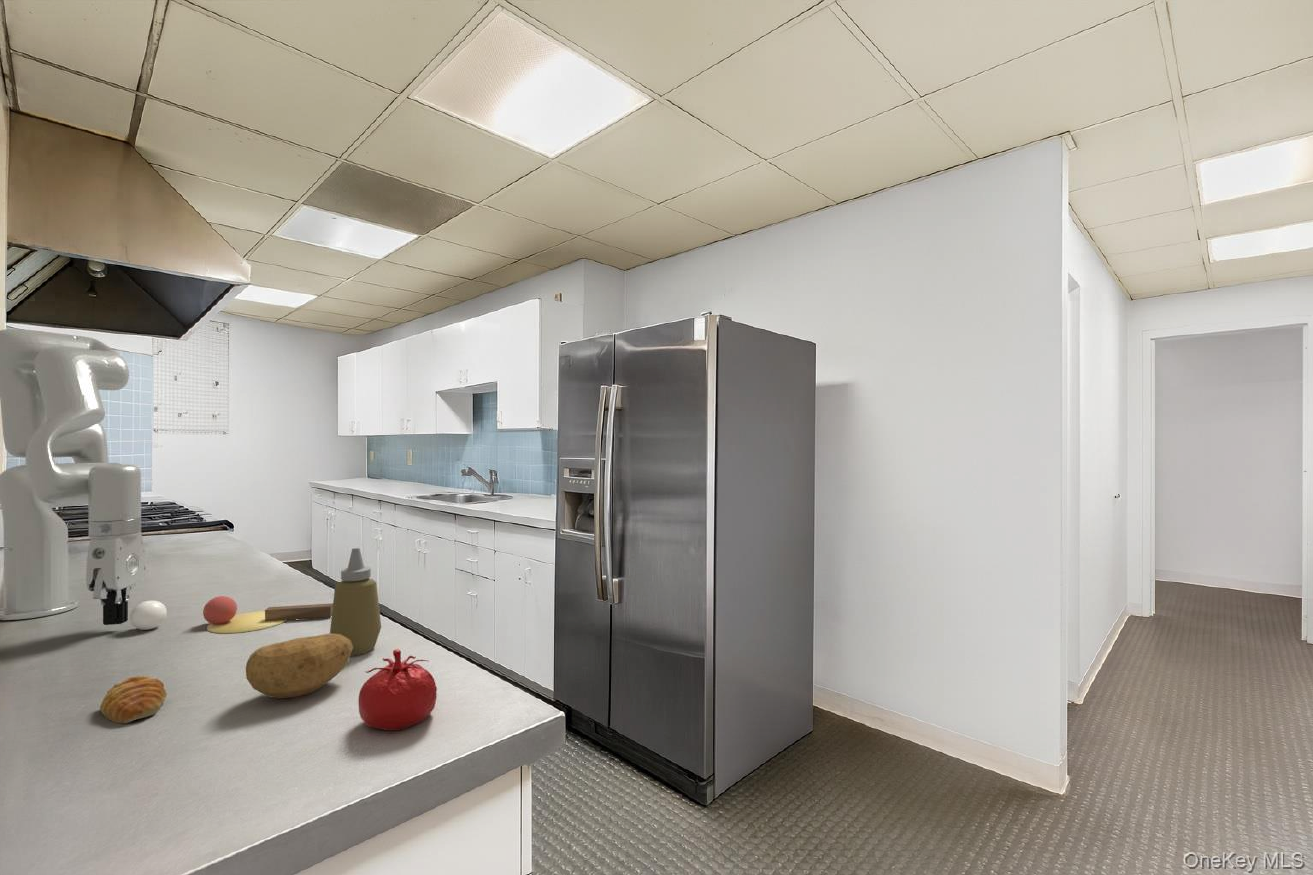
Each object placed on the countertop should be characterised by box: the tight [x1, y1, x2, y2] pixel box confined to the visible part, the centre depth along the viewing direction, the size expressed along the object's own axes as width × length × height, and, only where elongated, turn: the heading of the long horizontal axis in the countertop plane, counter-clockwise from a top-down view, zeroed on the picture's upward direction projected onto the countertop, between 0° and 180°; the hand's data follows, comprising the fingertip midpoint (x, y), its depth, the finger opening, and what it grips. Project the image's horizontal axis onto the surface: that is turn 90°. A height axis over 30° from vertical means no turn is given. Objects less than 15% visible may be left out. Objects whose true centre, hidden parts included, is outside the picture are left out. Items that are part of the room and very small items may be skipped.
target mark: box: [206, 610, 287, 634], centre depth 120 cm, size 14×14×1 cm
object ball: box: [202, 595, 238, 625], centre depth 119 cm, size 6×6×6 cm
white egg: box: [129, 600, 168, 631], centre depth 116 cm, size 6×6×6 cm
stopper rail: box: [264, 603, 333, 621], centre depth 122 cm, size 2×12×2 cm, turn 104°
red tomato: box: [357, 649, 438, 731], centre depth 79 cm, size 10×10×9 cm
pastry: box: [99, 675, 168, 724], centre depth 81 cm, size 9×7×4 cm
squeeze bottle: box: [329, 547, 382, 657], centre depth 104 cm, size 8×8×18 cm
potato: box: [245, 633, 353, 699], centre depth 87 cm, size 10×14×8 cm
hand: (115, 622), depth 115 cm, fingers closed
